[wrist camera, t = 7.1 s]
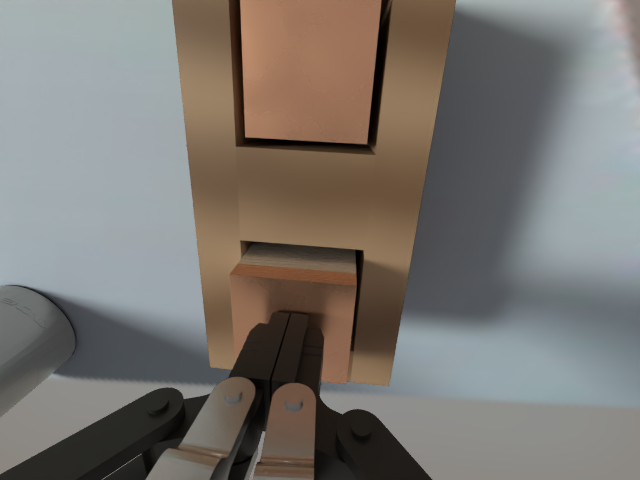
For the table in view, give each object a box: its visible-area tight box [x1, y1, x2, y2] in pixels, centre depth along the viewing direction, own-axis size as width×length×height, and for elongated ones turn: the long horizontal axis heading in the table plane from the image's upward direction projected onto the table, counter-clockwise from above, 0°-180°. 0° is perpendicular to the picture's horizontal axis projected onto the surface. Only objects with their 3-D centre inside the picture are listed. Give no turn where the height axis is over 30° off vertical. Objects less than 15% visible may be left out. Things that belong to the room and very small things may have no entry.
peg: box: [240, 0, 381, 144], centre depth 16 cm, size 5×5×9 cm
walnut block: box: [172, 0, 456, 386], centre depth 18 cm, size 20×10×9 cm, turn 177°
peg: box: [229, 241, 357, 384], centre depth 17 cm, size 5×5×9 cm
